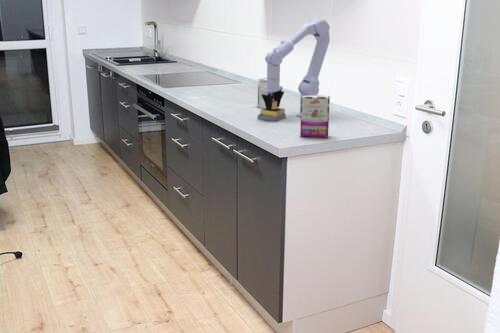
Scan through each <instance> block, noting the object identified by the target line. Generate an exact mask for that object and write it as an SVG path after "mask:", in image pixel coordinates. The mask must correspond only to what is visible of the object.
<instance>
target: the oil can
mask: <svg viewBox="0 0 500 333" xmlns="http://www.w3.org/2000/svg"><path fill="white" fill-rule="evenodd" d="M277 108H278V107H277V101H276V100H274V99H273V101H272V108H271V110H268V111H277Z"/></svg>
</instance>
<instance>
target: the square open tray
mask: <svg viewBox="0 0 500 333" xmlns="http://www.w3.org/2000/svg"><path fill="white" fill-rule="evenodd" d="M286 114H287V113H286V110H285V108H281V107H277V111H268V110H266V108H261V109H260V112H259V114H257V121H258V120H259V121H266V122H275V123H276V122H278V121H281V120H284V119H286V116H287V115H286Z"/></svg>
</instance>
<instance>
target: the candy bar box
mask: <svg viewBox="0 0 500 333" xmlns="http://www.w3.org/2000/svg"><path fill="white" fill-rule="evenodd" d="M300 97H301V96H300ZM330 100H331V96H330V95H319V94H317V95H302V97H301V116H300V132H299V135H300V138H317V137H322V139H328V137H329V128H330V127H329V126H330V122H329V121H330Z"/></svg>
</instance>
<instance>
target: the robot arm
mask: <svg viewBox="0 0 500 333" xmlns="http://www.w3.org/2000/svg"><path fill="white" fill-rule="evenodd" d="M309 35H312V36H313V37H314V39H315V41H316V44H315V47H314V51H313V54H312V55H311V58H310V63H309V66H308V70H307V73H306V75H304V77H303V78H302V80H301V81H300V83H299V85H298V88H297V89H298V93H300V101H299V105H300V106H299V113H298V114H296V117H301V97H302V95H319V92H320V88H319V87H320V80H319V76H320V73H321V69H322V66H323V63H324V59H325V58H326V54H327V51H328V47H329V44H330V40H331V39H330V25H329V23H328V21H327V20H326V19H320V18H319V19H318V18H311V19H309V20H308V21H307V22H305V23H304V24H303V26H302V27H301V28H299V30H298V31H296V32H295V33H294V34H293V35H292V36H291V37H290V38H289V39H284V40H281V41H280V44H278V45H277V46H276V47H274V48H272V50H271V51H269V52H267V53H266V56H265V57H264V60H265V62H266V66H267V68H266V78H267V87H266V88H265V90H263V94H262V98H263V99H264V102H265V106H266V110H271V108H272V101H273V100H276V101H277V108H280V106H281V105H280V104H281V100H282V98H283V96H284V94H285V91H283V86H282V85H281V86H280V83H281V82H280V80H281V77H280V73H281V64H282V63H283V60H284V59H285V58H286V57H287V56H288V55H290V54H291V53H292V51H294V48H295V46H296V45H297V44H298V43H299V42H301V41H302V40H303V39H304V38H305V37H307V36H309ZM271 93H272V95H271Z"/></svg>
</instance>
